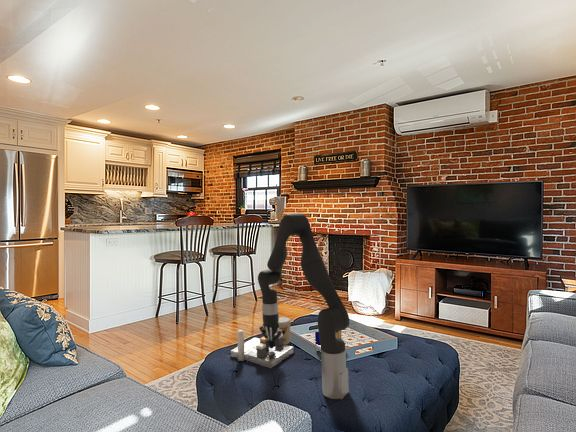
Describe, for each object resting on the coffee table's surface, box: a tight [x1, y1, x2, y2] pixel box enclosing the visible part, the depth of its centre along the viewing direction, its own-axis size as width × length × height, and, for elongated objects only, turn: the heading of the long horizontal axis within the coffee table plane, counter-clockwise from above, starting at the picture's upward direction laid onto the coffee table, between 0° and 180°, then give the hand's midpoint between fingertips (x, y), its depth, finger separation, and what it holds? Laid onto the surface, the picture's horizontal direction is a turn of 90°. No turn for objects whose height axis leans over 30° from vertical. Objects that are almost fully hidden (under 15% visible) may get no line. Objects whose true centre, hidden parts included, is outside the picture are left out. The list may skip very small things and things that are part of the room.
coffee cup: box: [276, 316, 292, 345], centre depth 192 cm, size 9×9×12 cm
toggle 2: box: [256, 343, 266, 358], centre depth 169 cm, size 3×3×5 cm
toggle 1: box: [259, 336, 269, 350], centre depth 177 cm, size 3×3×5 cm
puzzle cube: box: [314, 329, 343, 345], centre depth 181 cm, size 10×10×10 cm
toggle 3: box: [275, 334, 283, 347], centre depth 180 cm, size 3×3×5 cm
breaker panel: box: [230, 337, 294, 369], centre depth 178 cm, size 24×18×3 cm
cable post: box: [236, 329, 245, 362], centre depth 172 cm, size 4×4×14 cm
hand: (271, 347), depth 174 cm, fingers closed
